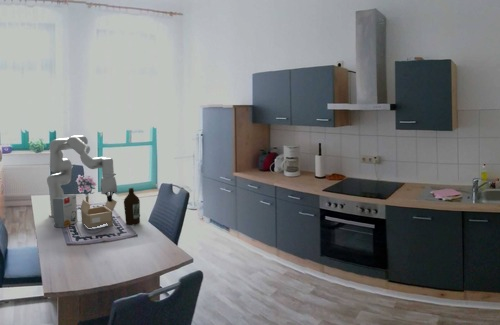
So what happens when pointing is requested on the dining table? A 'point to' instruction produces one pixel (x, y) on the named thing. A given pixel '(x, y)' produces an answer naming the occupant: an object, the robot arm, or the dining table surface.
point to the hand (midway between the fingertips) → (109, 201)
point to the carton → (97, 217)
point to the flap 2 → (111, 204)
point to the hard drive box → (65, 210)
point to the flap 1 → (85, 207)
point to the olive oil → (132, 208)
